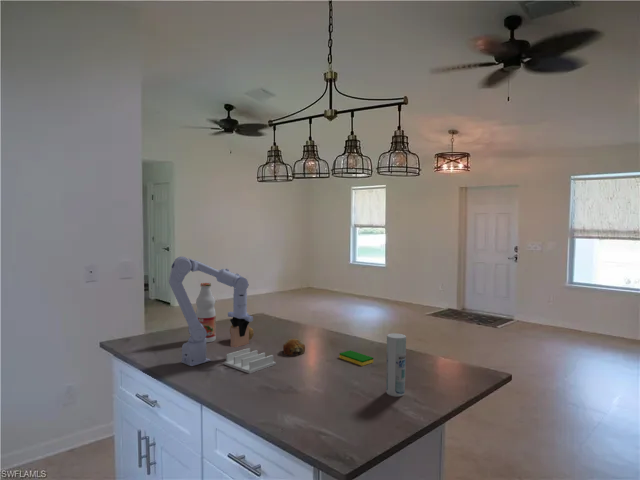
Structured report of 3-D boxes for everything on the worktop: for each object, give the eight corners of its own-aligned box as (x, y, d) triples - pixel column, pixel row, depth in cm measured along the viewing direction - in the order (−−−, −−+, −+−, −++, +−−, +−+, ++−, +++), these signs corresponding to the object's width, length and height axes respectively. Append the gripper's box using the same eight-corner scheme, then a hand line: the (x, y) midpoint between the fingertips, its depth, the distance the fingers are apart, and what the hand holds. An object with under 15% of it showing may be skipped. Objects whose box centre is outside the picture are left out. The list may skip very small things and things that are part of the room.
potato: (243, 346, 205) (243, 329, 205) (224, 340, 214) (224, 324, 214) (259, 341, 212) (259, 325, 212) (240, 336, 222) (240, 320, 221)
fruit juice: (219, 338, 217) (219, 282, 215) (208, 344, 208) (208, 285, 207) (203, 337, 220) (203, 281, 219) (191, 341, 211) (191, 284, 210)
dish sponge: (362, 366, 179) (362, 361, 179) (338, 358, 189) (338, 353, 189) (373, 363, 184) (374, 357, 184) (350, 355, 194) (350, 350, 194)
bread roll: (305, 358, 199) (306, 341, 202) (303, 355, 189) (304, 336, 193) (284, 357, 200) (285, 340, 203) (280, 354, 190) (282, 336, 193)
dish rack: (249, 373, 169) (249, 363, 169) (223, 364, 179) (223, 354, 179) (275, 364, 180) (275, 354, 179) (249, 356, 190) (250, 347, 190)
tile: (234, 347, 185) (234, 328, 185) (230, 346, 187) (230, 327, 187) (248, 343, 191) (248, 325, 191) (245, 342, 193) (245, 324, 193)
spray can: (391, 387, 156) (393, 332, 155) (408, 392, 152) (409, 335, 151) (382, 393, 151) (383, 335, 150) (399, 398, 147) (400, 339, 146)
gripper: (258, 305, 187) (258, 336, 187) (236, 300, 196) (236, 330, 197) (245, 307, 181) (245, 340, 182) (223, 303, 191) (223, 333, 191)
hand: (240, 335), depth 189 cm, fingers closed on tile, 2 cm apart
